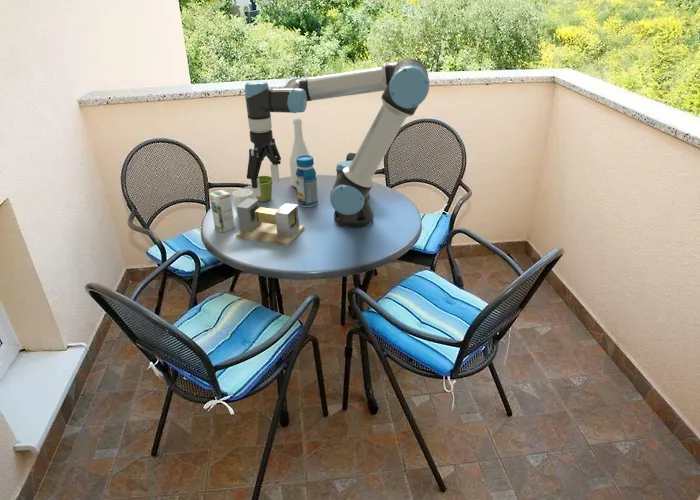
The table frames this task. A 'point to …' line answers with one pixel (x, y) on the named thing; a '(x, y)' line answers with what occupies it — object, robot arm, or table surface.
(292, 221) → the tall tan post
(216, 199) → the syrup box
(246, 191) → the white cup
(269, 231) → the board
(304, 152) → the wine bottle
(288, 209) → the grey rectangular block
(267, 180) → the plant pot
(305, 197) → the beverage bottle
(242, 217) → the socket
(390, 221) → the table surface
